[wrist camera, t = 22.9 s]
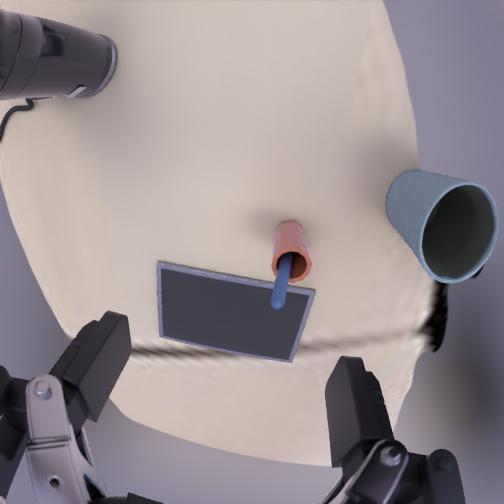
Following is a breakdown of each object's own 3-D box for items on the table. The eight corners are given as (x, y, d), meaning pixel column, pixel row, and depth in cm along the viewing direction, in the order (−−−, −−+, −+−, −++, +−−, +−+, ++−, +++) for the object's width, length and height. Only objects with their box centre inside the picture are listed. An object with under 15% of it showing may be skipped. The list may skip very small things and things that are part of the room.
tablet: (160, 334, 45) (159, 337, 44) (158, 260, 39) (156, 263, 38) (291, 359, 45) (291, 363, 44) (315, 289, 39) (315, 292, 38)
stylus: (284, 239, 35) (268, 309, 24) (286, 231, 35) (271, 299, 24) (294, 241, 35) (281, 313, 24) (296, 233, 35) (285, 303, 24)
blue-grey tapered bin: (379, 240, 35) (413, 289, 24) (378, 161, 31) (422, 181, 20) (443, 234, 33) (490, 277, 22) (447, 161, 29) (504, 183, 18)
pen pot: (271, 247, 37) (268, 278, 29) (277, 218, 35) (275, 244, 28) (301, 252, 36) (306, 285, 29) (308, 224, 35) (315, 251, 28)
